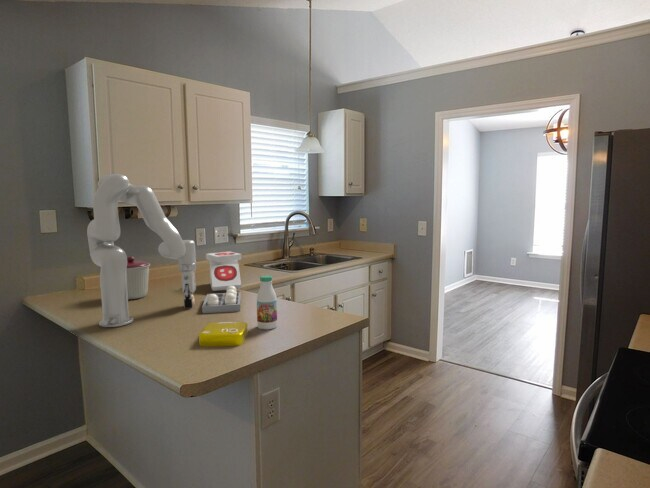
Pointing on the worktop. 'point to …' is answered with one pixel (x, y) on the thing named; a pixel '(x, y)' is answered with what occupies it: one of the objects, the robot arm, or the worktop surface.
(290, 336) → the worktop surface
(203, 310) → the egg carton
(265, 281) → the milk bottle
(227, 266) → the pizza boxes
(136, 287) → the canister
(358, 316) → the worktop surface
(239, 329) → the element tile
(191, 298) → the brown egg
